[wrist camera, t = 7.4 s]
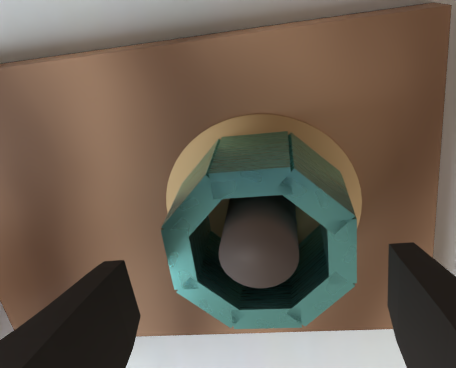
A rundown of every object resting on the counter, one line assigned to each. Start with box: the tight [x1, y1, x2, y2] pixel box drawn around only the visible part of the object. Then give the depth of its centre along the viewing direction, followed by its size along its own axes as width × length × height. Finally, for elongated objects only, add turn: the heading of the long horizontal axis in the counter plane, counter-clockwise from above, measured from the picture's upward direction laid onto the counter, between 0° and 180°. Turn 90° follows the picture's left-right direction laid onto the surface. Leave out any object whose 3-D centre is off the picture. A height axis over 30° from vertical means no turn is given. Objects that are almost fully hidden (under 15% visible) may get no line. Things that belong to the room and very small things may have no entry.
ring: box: [161, 131, 357, 329], centre depth 14 cm, size 6×6×3 cm
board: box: [0, 3, 451, 336], centre depth 15 cm, size 18×12×4 cm, turn 98°
